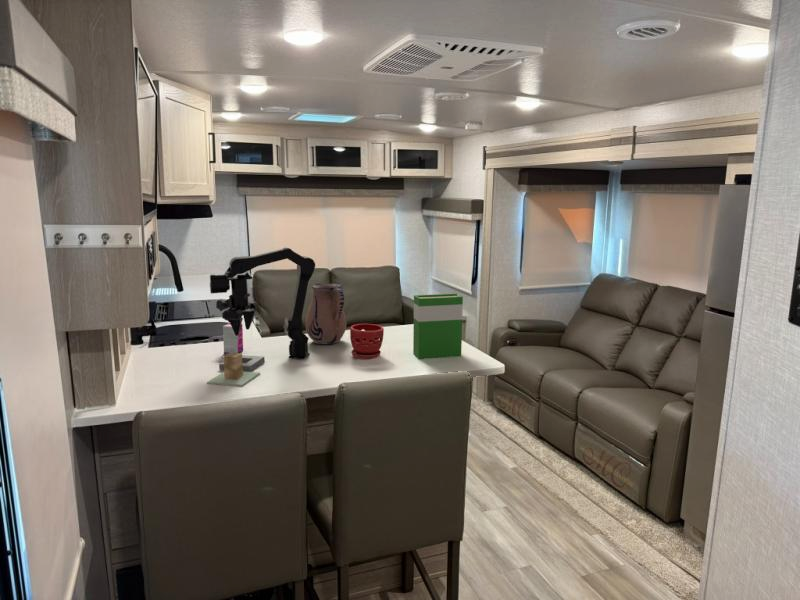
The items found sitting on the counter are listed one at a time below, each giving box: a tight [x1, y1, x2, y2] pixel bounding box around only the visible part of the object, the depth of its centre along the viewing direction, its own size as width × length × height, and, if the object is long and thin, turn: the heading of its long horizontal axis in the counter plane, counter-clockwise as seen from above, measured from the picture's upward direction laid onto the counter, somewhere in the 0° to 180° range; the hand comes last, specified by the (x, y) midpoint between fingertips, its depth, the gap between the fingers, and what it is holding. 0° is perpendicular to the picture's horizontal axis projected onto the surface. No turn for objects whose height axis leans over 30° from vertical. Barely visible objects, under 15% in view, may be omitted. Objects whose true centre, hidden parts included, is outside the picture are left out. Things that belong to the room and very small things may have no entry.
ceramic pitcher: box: [305, 283, 347, 345], centre depth 232 cm, size 18×21×25 cm
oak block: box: [222, 352, 243, 380], centre depth 187 cm, size 4×4×8 cm
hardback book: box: [412, 293, 464, 360], centre depth 215 cm, size 18×7×24 cm, turn 104°
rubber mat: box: [206, 371, 261, 387], centre depth 188 cm, size 13×13×1 cm
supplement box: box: [222, 322, 244, 355], centre depth 219 cm, size 6×6×12 cm
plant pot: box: [349, 323, 385, 360], centre depth 214 cm, size 13×13×12 cm
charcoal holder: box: [218, 354, 266, 372], centre depth 202 cm, size 12×12×2 cm
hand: (242, 332), depth 204 cm, fingers open, 9 cm apart
